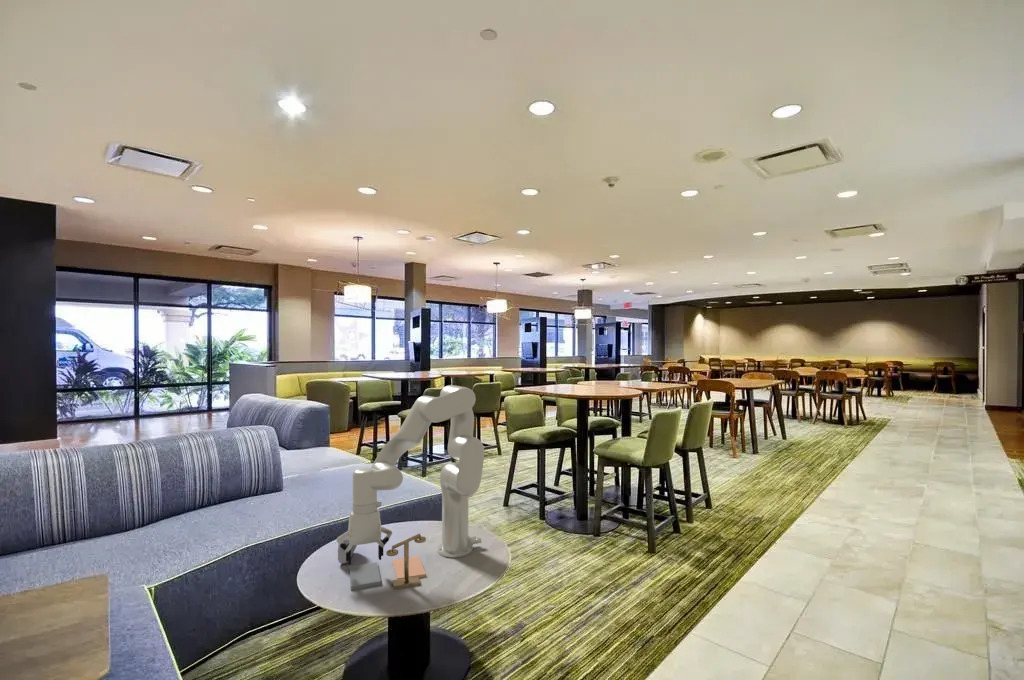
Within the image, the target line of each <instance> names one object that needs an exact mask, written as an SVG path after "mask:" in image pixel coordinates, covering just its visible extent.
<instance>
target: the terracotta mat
mask: <svg viewBox="0 0 1024 680" xmlns="http://www.w3.org/2000/svg"><path fill="white" fill-rule="evenodd" d="M392 567H393V571H394V574H395V578H396V579H402V578H404V557H403V558H396V559H392ZM414 576H418V577H419V579H420V578H427V577H426V576H427V574H426V571H425V569H424V565H423V563H422V561H421V557H420V556H419V555H414V556H409V577H414ZM396 579H395V580H396Z"/></svg>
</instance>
